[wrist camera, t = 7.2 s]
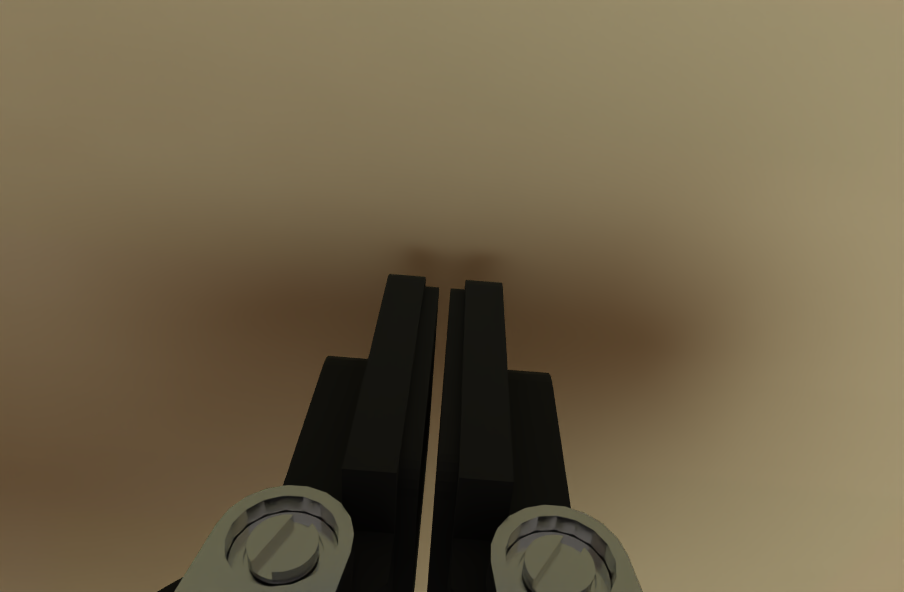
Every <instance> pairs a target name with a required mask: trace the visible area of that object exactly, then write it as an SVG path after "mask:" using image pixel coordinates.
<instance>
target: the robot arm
mask: <svg viewBox="0 0 904 592" xmlns="http://www.w3.org/2000/svg"><path fill="white" fill-rule="evenodd" d="M425 284H426V277H420V276H407V275H394V274H389V276H388V279H387V283H386V287H385V291H384V296H383V300H382V304H381V308H380V312H379V316H378V320H377V325H376V329H375V333H374V337H373V341H372V345H371V349H370V354H369V358H368V359H361V358H348V357H335V356H328V357H327V358H326V360H325V362H324V364H323V367H322V370H321V373H320V376H319V379H318V382H317V385H316V388H315V391H314V394H313V397H312V400H311V403H310V406H309V409H308V412H307V415H306V418H305V421H304V424H303V427H302V430H301V433H300V436H299V439H298V442H297V445H296V448H295V451H294V454H293V457H292V460H291V463H290V466H289V469H288V472H287V475H286V478H285V481H284V484H283V486H279V487H273V488H267V489H264V490H262V491H259V492H257V493H254V494H251V495H249V496H247V497H245V498H244V499H242V500H241V501H239V502H238V503H237V504H235V505H234V506H232V507H231V508H229V509H228V511H227V512H226V513H225V514H224V515H223V517H222V518H221V519H220V520H219V521H218V522H217V524H216V525H215V527H214V528H213V530H212V532H211V533H210V535H209V536H208V538H207V540H206V541H205V543H204V544H203V546H202V548H201V549H200V551H199V553H198V554H197V556H196V557H195V559H194V561H193V562H192V564H191V565H190V567H189V569H188V570H187V572H186V574H185V575H184V577H182V578H180V579H179V580H177V581H175V582H173V583H172V584H170V585H168V586H166V587H165V588H163V589H161V590H159V591H158V592H414V588H415V577H416V567H417V556H418V546H419V535H420V525H421V514H422V503H423V493H424V482H425V472H426V461H427V451H428V439H429V426H430V412H431V398H432V383H433V369H434V355H435V340H436V326H437V312H438V297H439V288H438V287H425ZM427 592H643V591H642V589H641V586H640V584H639V581H638V579H637V576H636V574H635V571H634V569H633V566H632V564H631V561H630V559H629V556H628V554H627V553H626V551H625V549H624V548H623V546H622V544H621V543H620V541H619V539H618V538H617V537H616V536H615V535H614V534H613V533H612V532H611V531H610V530H609V529H608V528H607V527H606V526H605V525H604V524H603V523H601V522H599V521H598V520H596V519H594V518H593V517H591V516H589V515H587V514H586V513H584V512H580V511H577V510H574V509H571V506H570V499H569V492H568V486H567V479H566V472H565V466H564V459H563V452H562V445H561V439H560V432H559V425H558V418H557V412H556V405H555V398H554V391H553V385H552V380H551V375H550V374H549V373H541V372H528V371H515V370H507V353H506V336H505V319H504V301H503V285H502V283H496V282H484V281H471V280H466V282H465V290H463V289H451V292H450V304H449V317H448V329H447V342H446V354H445V367H444V380H443V392H442V405H441V417H440V430H439V443H438V456H437V469H436V482H435V495H434V508H433V521H432V535H431V548H430V561H429V574H428V587H427Z"/></svg>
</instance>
